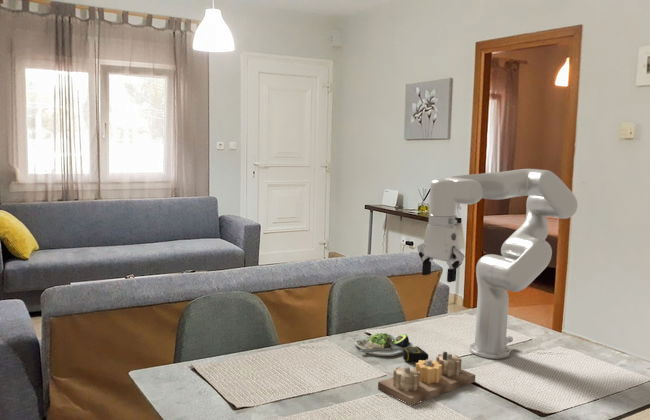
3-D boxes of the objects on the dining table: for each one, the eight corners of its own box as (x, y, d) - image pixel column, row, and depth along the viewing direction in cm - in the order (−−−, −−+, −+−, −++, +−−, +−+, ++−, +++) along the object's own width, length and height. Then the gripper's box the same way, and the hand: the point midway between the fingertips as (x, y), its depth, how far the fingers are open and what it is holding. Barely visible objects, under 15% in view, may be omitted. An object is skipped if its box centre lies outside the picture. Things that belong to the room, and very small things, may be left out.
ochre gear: (427, 371, 164) (427, 357, 164) (446, 379, 159) (446, 365, 159) (410, 376, 160) (410, 363, 160) (429, 385, 155) (429, 371, 154)
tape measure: (428, 364, 175) (429, 352, 175) (408, 366, 173) (408, 354, 173) (418, 356, 182) (419, 344, 181) (398, 358, 180) (399, 346, 179)
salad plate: (377, 364, 174) (378, 350, 174) (341, 347, 188) (341, 333, 188) (423, 352, 186) (423, 338, 185) (385, 336, 200) (385, 323, 199)
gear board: (442, 367, 172) (443, 341, 171) (475, 381, 163) (476, 354, 162) (377, 389, 156) (379, 360, 155) (410, 405, 147) (411, 375, 146)
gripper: (473, 224, 166) (470, 282, 168) (428, 216, 180) (425, 270, 182) (456, 226, 162) (453, 286, 164) (411, 218, 175) (408, 273, 177)
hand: (438, 278), depth 173 cm, fingers open, 9 cm apart
